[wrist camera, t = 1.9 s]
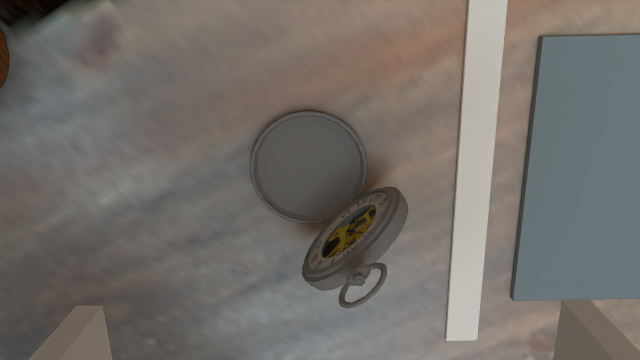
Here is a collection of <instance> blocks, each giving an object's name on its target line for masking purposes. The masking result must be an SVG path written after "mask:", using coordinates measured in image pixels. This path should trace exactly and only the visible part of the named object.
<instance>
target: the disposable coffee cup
mask: <svg viewBox="0 0 640 360" xmlns="http://www.w3.org/2000/svg"><path fill="white" fill-rule="evenodd" d="M8 64H9V55H8V50H7V45H6V41H5V38H4V35H3V33H2V31H1V29H0V87H1V86H2V84H3V83H4V81H5V78H6V76H7V71H8Z"/></svg>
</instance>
